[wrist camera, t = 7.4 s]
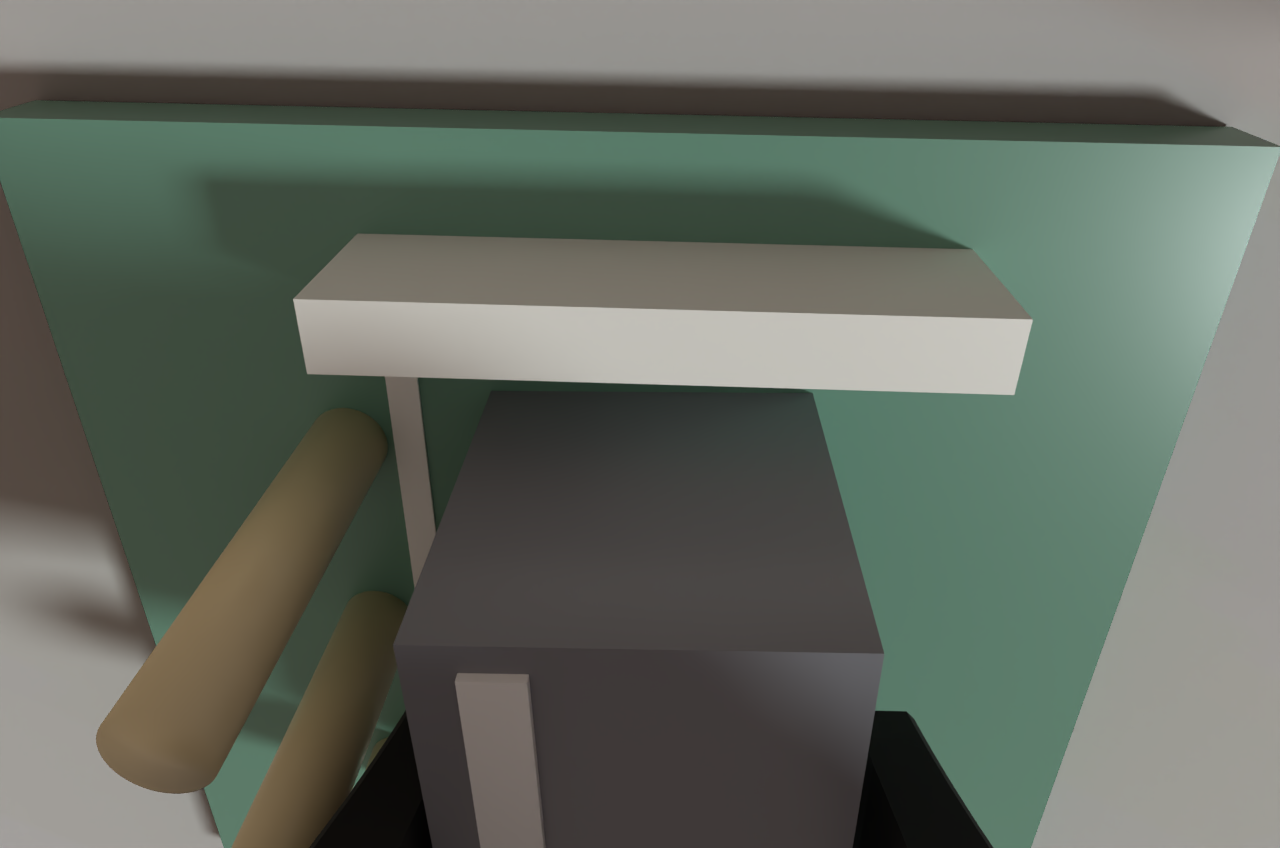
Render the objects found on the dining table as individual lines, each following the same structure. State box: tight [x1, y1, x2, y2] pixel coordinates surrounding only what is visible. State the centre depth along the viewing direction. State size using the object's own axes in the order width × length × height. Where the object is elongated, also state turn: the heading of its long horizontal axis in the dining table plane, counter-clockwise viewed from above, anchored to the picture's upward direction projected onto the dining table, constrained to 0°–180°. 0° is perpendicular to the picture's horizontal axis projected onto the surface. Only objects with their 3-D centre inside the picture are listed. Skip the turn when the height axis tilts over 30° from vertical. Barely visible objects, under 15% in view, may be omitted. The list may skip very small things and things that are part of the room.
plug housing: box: [393, 391, 884, 848], centre depth 11 cm, size 4×7×5 cm, turn 1°
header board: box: [0, 100, 1280, 848], centre depth 11 cm, size 14×14×6 cm
